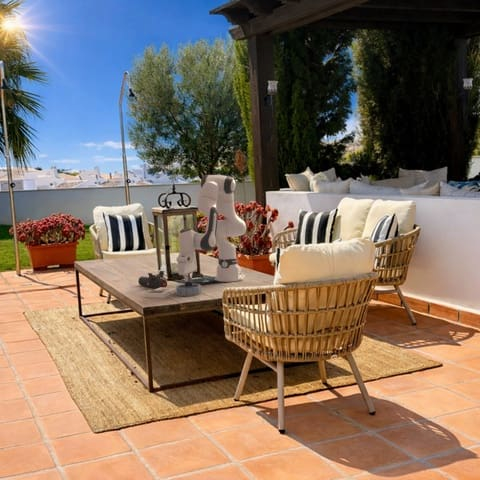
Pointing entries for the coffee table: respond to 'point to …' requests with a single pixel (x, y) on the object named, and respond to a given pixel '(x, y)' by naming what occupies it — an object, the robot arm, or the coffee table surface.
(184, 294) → the blue-gray round bowl
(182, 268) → the robot arm
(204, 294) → the coffee table surface
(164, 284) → the laser sight
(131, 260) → the coffee table surface
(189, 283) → the cell
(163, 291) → the cradle
